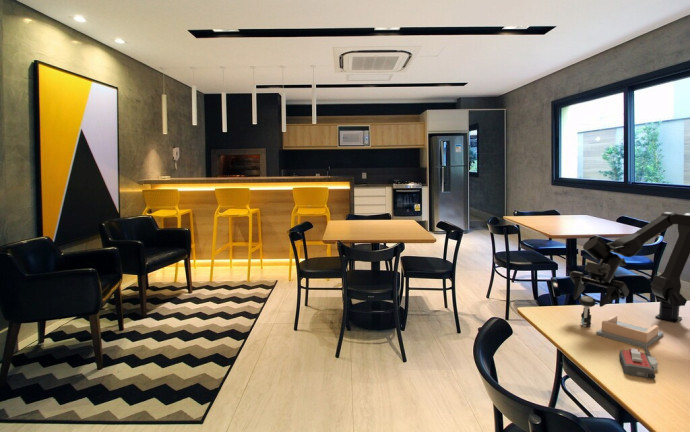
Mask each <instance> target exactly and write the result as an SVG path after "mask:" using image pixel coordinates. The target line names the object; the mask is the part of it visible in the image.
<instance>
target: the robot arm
mask: <svg viewBox="0 0 690 432" xmlns="http://www.w3.org/2000/svg"><path fill="white" fill-rule="evenodd" d="M674 225H677V232H678V237H677V239H676V242H675V244H674V247H673V250H672V252H671V254H670V256H669V258H668V261H667V263H666V266H665V269H664V270H663V272H662V273H661V274H659V275H657V274H654V276H653V278H652V281H651V282H650V286H651V288H650V290H651V291H652V292H651V293H653V294H654V297H655V299H657V300H659V312H658V314H657V315H655V317H654V318H655V319H659V320H664V321H669V322H673V323H678V322H680V321H681V320H682V319H683V317H682V316H679V315H680V307H681V306H682V307H685V306H686V303H687V302H688V300H687V299H686V298H685V297H684V296H683V295H682V294H681V290H682V283H681V282H682V281H681V276H682V274H683V270H684V268H685V266H686V264H687V262H688V259H689V257H690V212H687V213H683V214H678V213H676V212H669V211H665V212H663V213H661V214H660V215H659V216H658V217H656V218H654V219H653V220H652V221H650V222H649V223H647V224H646V225H644V226H643V227H641V228H639V229H638V230H636V231H634V232H633V233H631V234H627V235H623V236H621V237H618V238H617V239H615V240H613V241H611V242H608V243H607V242H605V240H603V238H601V237H600V236H598V235H596V236H595V237H594V238H591V239H589V240H587V241H585V243H584V244H583V250H584V252H586V253H587V254H588V255H590V256H591V257H592V258H594V260H597V261H598V260H600V262H599V263H596V262H595V263H594V262H589V261H587V262H586V265H585V268H584V271H585V272H588V276H589V277H587V276H586V275H585V274H584V272H582V271H581V272H580V271H576V270H574V271H571V272H570V274H569V276H568V277H569V278H570V280H571V281H572V282H573V285H574V291H573V299H574V300H577V299H579V298H580V295H581V294H582V293H583V292H584V291H585V289H586V286H587V285H588V284H590V285H593V286H597V287H602V288H605V289H606V292H605V294H604V296H603V297H602V299H601V300H600V302H599V307H600V308H602V307H604V306H606V305H608V304H609V303H611V302H613V301H616V300H618V299H622V298H628V296H629V294H630V290H629V288H628V286H627V285H626V283H625V281H620V280H616V279H615V278H616V272H617V270H618V269H619V267H625V266H627V261H625V258H632V257H634V256H635V255H637V253H639V252H640V251H641V250H642V248H643V246H644V245H645V244H646V243H647V242H649V241H650V240H652V239H653V238H655V237H656V236H658V235H659V234H661V233H663V232H664V231H666V230H667V229H669V228H670V227H672V226H674ZM621 256H623V257H625V258H623V257H621Z"/></svg>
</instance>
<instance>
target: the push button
mask: <svg viewBox="0 0 690 432" xmlns="http://www.w3.org/2000/svg"><path fill="white" fill-rule="evenodd" d="M578 303H579V305H581V306H582V307H583V311H582V313H581V314H580V315H581V316H580V317H581V319H580V324H581V326H582V327H585V328H589V327H588V326H592V314H591V309H590V308H592V307H595V306H596V303H597V301H596V300H595V299H594V297H593V296H590V295H582V296H581V297H578Z"/></svg>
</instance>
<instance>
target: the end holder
mask: <svg viewBox="0 0 690 432" xmlns="http://www.w3.org/2000/svg"><path fill="white" fill-rule="evenodd" d="M595 333H596V336H601V337H603V338H608V339H610V340H615V341H618V342H622V343H625V344H627V345H632V346H635V347H638V348H643V349H645V348H647V349H648V347H650V346H651V345H652V344H654V343H655V342H656V341H658V340H659V339H660V338H662V337H663V336H664V332H663V331H659V325H657V324H654V325H652V326H651V327H650V328H647V327H642V326H639V325H636V324H635V325H634V324H630V323H627V322H622V321H618V315H617V314H616V315H615V314H613V315H612V316H609V317H608V318H606V319H605V320H603V321H601V329H598V330H597V331H596V332H595Z"/></svg>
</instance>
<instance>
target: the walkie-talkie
mask: <svg viewBox="0 0 690 432" xmlns="http://www.w3.org/2000/svg"><path fill="white" fill-rule="evenodd" d="M643 349H644V353H643V352H642V351H641V352H640V349H637V348H631V347H630V348H629V349H628V350H627V349H621V350H619V353H618V354H619V355H618V357H619V360H620V364H621V367H622V371H623V374H625V375H627V376H632V377H639V378H645V379H654V380H655V379H656V374H655V371H657V370H658V365H659V364H658V361H657V358H656V357H654V356H652V355H651V352H650V350H649V348H648V347H647V348H643Z"/></svg>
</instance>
